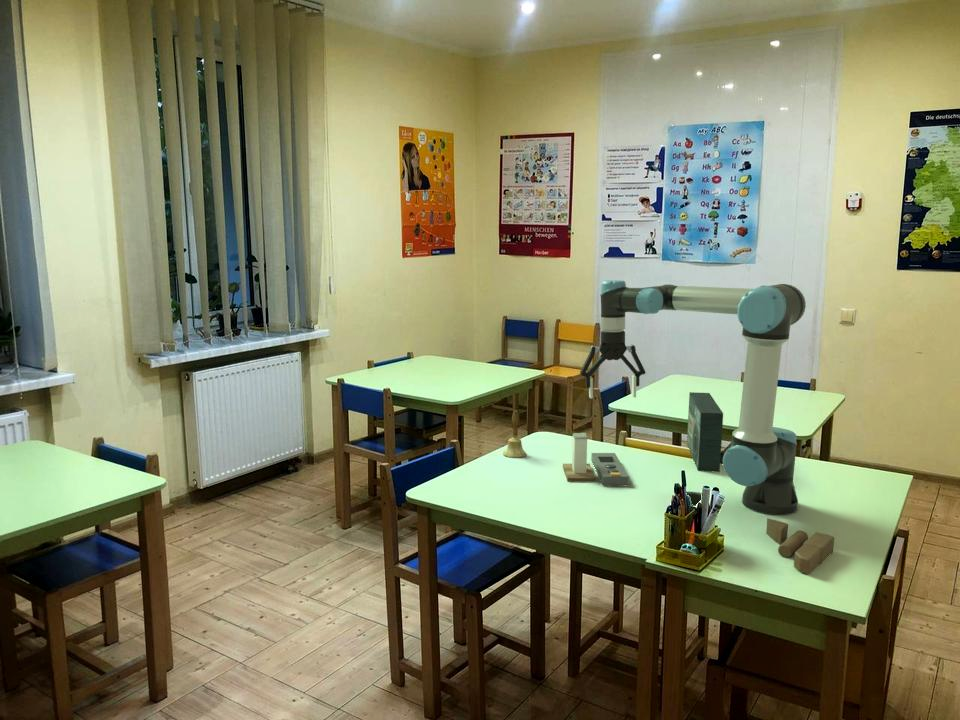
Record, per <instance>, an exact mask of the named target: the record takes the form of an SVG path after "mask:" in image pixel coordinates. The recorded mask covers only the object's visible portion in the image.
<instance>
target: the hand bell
mask: <svg viewBox="0 0 960 720" xmlns="http://www.w3.org/2000/svg"><path fill="white" fill-rule="evenodd" d="M511 424H512V437H510V438H509V439H508V443H507V447H506V449H505V450H504V451H503V453H502V455H503V456H505V457H508V458H514V459H515V458H517V459H518V458H525V456H527V452H526V450H525V449H524V448H523V445H522V439H521V438H519V437H518V434H519V433H518V428H519V424H520V415H519V411H518V410H513V413H512V416H511Z"/></svg>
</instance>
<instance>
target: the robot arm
mask: <svg viewBox="0 0 960 720" xmlns="http://www.w3.org/2000/svg"><path fill="white" fill-rule="evenodd" d="M600 287H601V288H600V295H599V296H600V329H601V331H600V345H599V346H594V345H591V346H590V348H589V353H588V355H587V357H586V359H585V361H584V363H583V365H582V367H581V369H580V372H579V374H580V376H582V377H584V378H585V387H586V388H587V389H588V397H589V399H591V400H592V399H594V378H593V377H592V376H593V374H594V373H596V371H597V370H598V368H599V367H600V366H601V365H602V364H603V363H604V362H605V361H606V360H607V361H612V360H613V361H619V360H621V361H623V363H624V364H625V365H626V366H627V367H628V368H629V370H630V371H631V372H632V373H633V374H634V375H633V374H632V376H631V397H633V398H637V387H640V379H641V378H640V377H641V376H642V375H643V376H644V375H646V370H645V368H644V366H643V363H642V362H641V360H640V358H639V356H638V354H637V350H636V346H635V345H634V344H630V345H626V332H625V329H626V313H636V314H644V315H648V314H649V315H650V314H651V315H653V314H658V313H659V311H663V310H666V311H684V312H697V313H698V312H699V313H700V312H701V313H713V314H725V315H726V314H727V315H736V316H737V318H738V322H739V323H740V324H741V327H742V335H741V336H742V337H743V339H745V341H746V342H747V345H746V353H745V362H744V371H743V373H744V375H743V382H742V383H743V384H742V391H741V402H740V412H739V413H740V414H739V421H738V427H737V428H736V429H735V430H733V431H732V435H731V441H730V442H731V443H730V447H729V448H728V449H726V451H725V452H724V454H723V456H722V467H723V469H724V472H725V473H726V475H728V477H729V479H730V480H731V481H733V482H734V483H736V484H738V485H739V486H742V487H743V486H744V490H743V493H742V498H741V502H742V504H743V506H744V507H746V508H748V509H750V510H753V511H756V512H758V513H762V514H767V515H769V514H770V515H778V516H779V515H790V514H793V513H795V512H797V511H798V509H799V508H798V507H799V500H798V495H797V492H796V489H795V488H796V487H795V483H794V477H795V476H794V475H795V464H796V455H797V454H796V453H797V445H798V443H797V434H796V432H794V431H793V430H789V429H786V428H783V427H776V426H774V417H775V408H776V400H777V399H776V398H777V391H778V390H777V389H778V383H779V382H778V381H779V373H780V363H781V357H782V356H781V355H782V347H783V345H784V344H785V343H786V342H787V341H789V339H790V332H791V331H790V330H791V326H792V325H795V324H796V323H798V322H799V320H801V319H802V317H803V316H804V314H805V312H806V299H805V296H804V294H803V292H802V291H801V290H800V289H798V288H797V287H796V286H794V285H792V284H788V283H779V284H772V285H760V286H758V287H756V288H741V287H740V288H739V287H720V286H719V287H716V286H715V287H714V286H713V287H711V286H690V285H688V286H687V285H675V284H663V285H655V286H646V287H627V284H626V281H625V280H621V279H616V280H615V279H613V280H611V279H610V280H604V281H602V282H601V286H600ZM627 351H628V353H630V355H631V356H632V359H633V360H634V363H635V364H636V366H637V368H638V370H637V368H636V367H635V366H634V365H633V364H632V363H631V362H630V360H628V358H627V357H626V356H625V355H624V354H625V353H626V352H627ZM598 352H600V353H601V355H600V356H599V357H598V358H597V360H596V361H595V362H594V363H593V364H592V366H591V367H590V365H591V363H592V362H593V359H594V357H595V355H596V354H597V353H598ZM589 367H590V368H589Z"/></svg>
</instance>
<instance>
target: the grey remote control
mask: <svg viewBox="0 0 960 720" xmlns="http://www.w3.org/2000/svg"><path fill="white" fill-rule="evenodd" d="M590 457H591V461H592V462H591V463H593V464H592V465H594V466H593V468H594V467H595V468H594V470H595V469H596V470H595V472H597V473H596V474H598V475H597V477H598V476H599V477H598V479H599V478H600V479H599V480H601V481H600V483H601V486H602V485H628V486H629V479H630V478H629V475H628V473H627V471H626V470H625V468H624V466H623V463H621V460H620V459H619V457H618V456H617V454H616V453H615V452H591V456H590Z"/></svg>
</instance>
